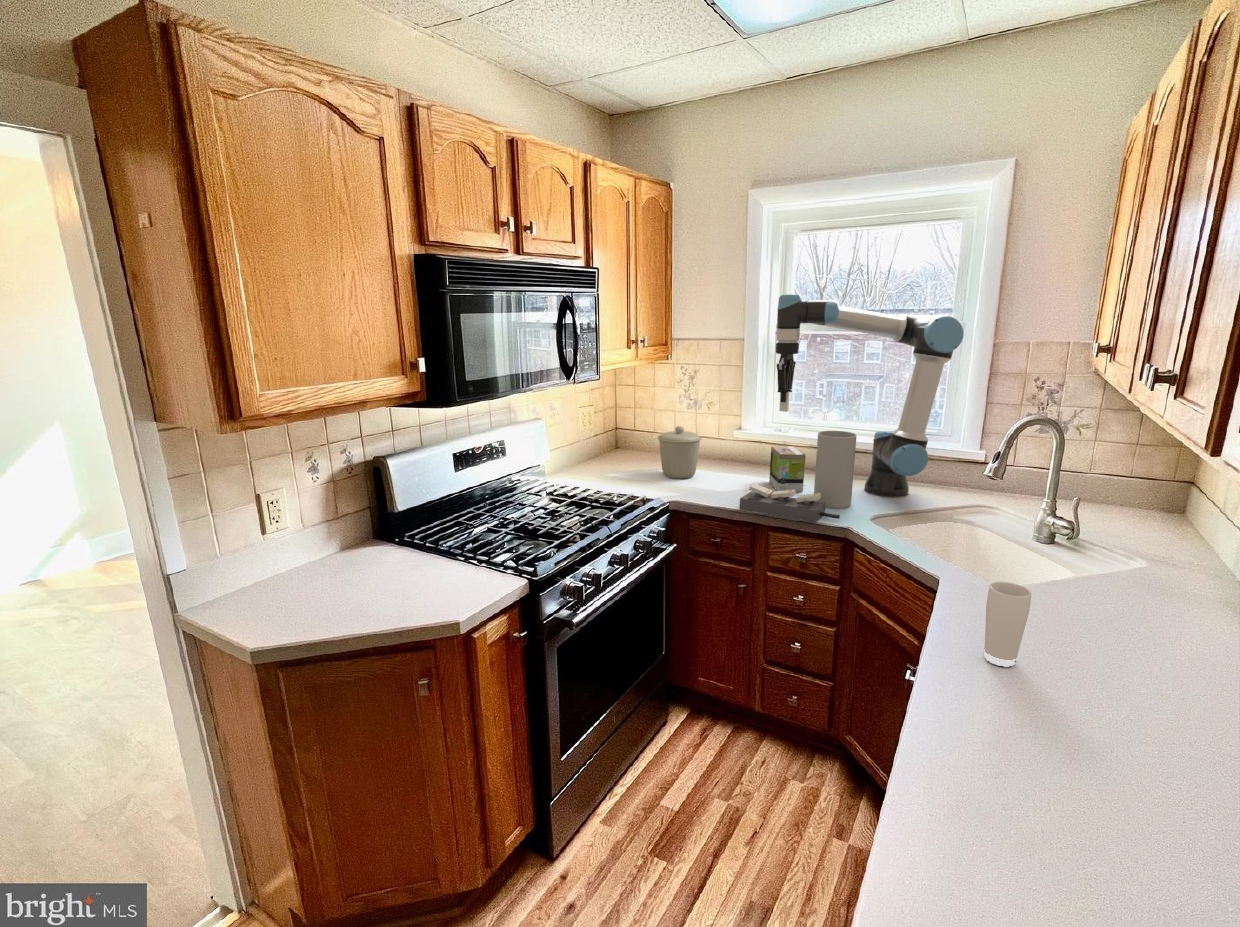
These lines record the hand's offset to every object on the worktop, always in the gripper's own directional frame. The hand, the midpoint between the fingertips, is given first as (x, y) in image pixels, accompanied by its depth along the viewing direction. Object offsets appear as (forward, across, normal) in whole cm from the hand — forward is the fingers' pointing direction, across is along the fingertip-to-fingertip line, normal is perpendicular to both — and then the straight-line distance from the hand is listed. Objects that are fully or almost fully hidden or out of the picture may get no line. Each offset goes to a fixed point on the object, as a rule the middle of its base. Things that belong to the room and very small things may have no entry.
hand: (783, 411), depth 212 cm
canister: (+33, -12, -47) cm, 58 cm away
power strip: (+32, +12, +8) cm, 35 cm away
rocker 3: (+28, +10, +14) cm, 32 cm away
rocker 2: (+28, +10, +5) cm, 30 cm away
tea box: (+33, -19, -4) cm, 38 cm away
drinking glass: (+33, +79, +71) cm, 111 cm away
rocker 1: (+28, +10, -4) cm, 30 cm away
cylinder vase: (+33, -6, +17) cm, 37 cm away
